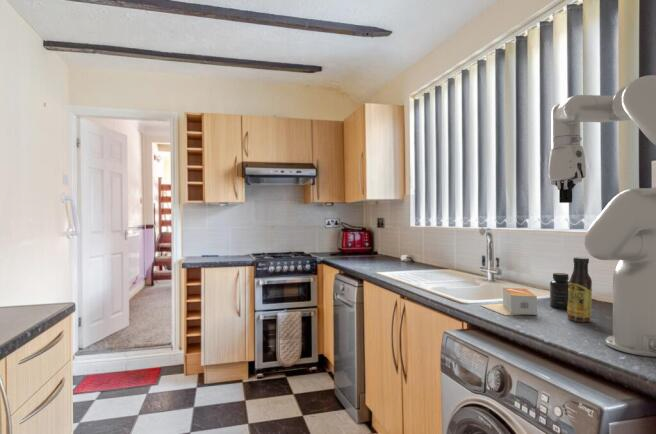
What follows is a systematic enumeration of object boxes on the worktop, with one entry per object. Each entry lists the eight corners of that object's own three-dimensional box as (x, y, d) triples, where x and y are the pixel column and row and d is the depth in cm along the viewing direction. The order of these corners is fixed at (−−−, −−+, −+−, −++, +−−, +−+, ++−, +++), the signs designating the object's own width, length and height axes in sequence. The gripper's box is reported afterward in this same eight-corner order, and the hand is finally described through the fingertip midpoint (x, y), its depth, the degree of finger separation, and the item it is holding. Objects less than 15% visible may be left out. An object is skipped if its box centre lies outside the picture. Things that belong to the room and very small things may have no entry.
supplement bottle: (550, 303, 143) (550, 271, 143) (572, 306, 139) (572, 273, 139) (548, 307, 137) (548, 274, 137) (571, 310, 133) (571, 275, 133)
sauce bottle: (562, 318, 123) (562, 256, 123) (576, 316, 125) (576, 255, 125) (582, 324, 117) (582, 259, 117) (596, 322, 119) (596, 258, 119)
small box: (510, 294, 128) (502, 287, 141) (510, 314, 128) (502, 305, 141) (537, 295, 126) (526, 288, 139) (537, 315, 126) (526, 306, 139)
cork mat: (536, 313, 129) (536, 312, 129) (505, 315, 127) (505, 314, 127) (509, 304, 143) (509, 303, 143) (480, 305, 141) (480, 305, 141)
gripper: (597, 139, 113) (597, 202, 113) (557, 148, 128) (557, 203, 128) (575, 138, 111) (575, 202, 112) (537, 147, 126) (537, 203, 126)
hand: (565, 202), depth 120 cm, fingers closed
